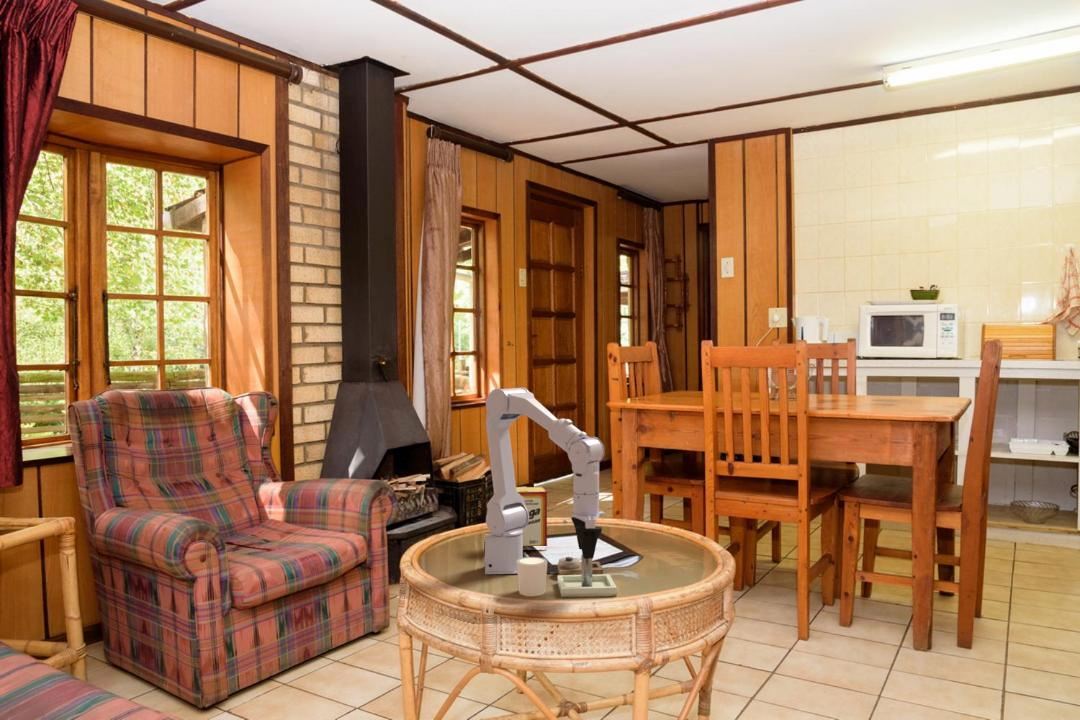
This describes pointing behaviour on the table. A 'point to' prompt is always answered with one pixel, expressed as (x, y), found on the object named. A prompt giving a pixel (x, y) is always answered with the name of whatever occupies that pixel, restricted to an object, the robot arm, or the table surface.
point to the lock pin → (586, 572)
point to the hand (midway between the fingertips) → (586, 553)
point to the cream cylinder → (532, 575)
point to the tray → (573, 587)
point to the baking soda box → (535, 515)
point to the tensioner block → (576, 567)
